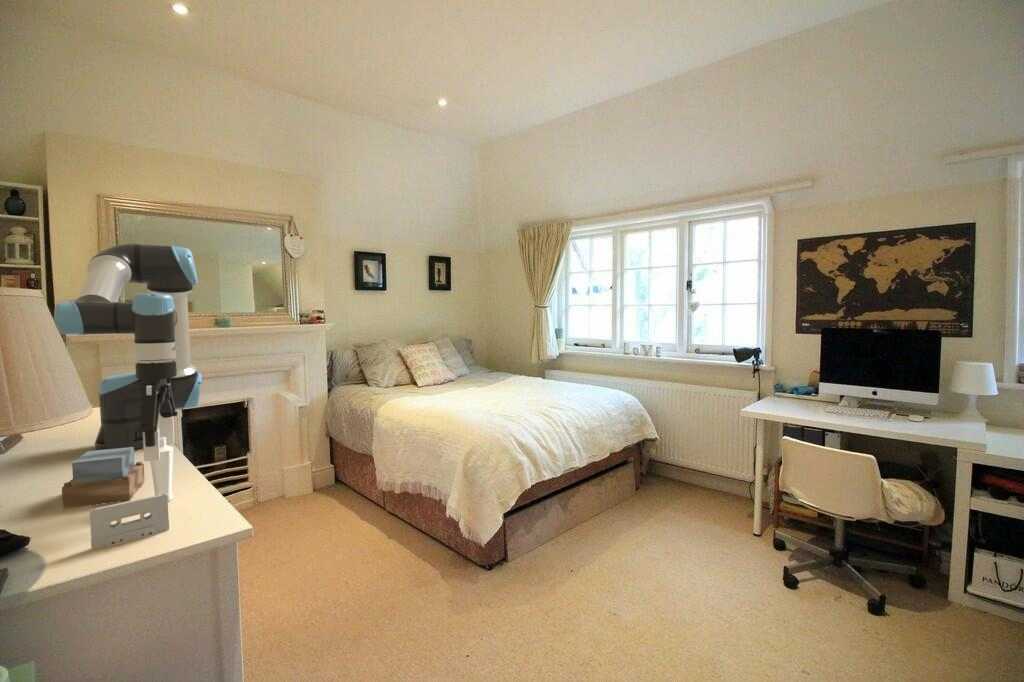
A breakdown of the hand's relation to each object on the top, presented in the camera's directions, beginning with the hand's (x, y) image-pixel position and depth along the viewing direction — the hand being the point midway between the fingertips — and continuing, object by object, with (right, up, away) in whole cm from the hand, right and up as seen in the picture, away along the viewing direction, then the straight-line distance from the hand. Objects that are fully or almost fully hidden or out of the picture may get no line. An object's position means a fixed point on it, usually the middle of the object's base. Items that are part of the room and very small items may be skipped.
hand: (160, 451), depth 109 cm
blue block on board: (-16, -11, +4) cm, 20 cm away
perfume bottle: (0, -12, +1) cm, 12 cm away
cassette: (+7, -14, -16) cm, 22 cm away
